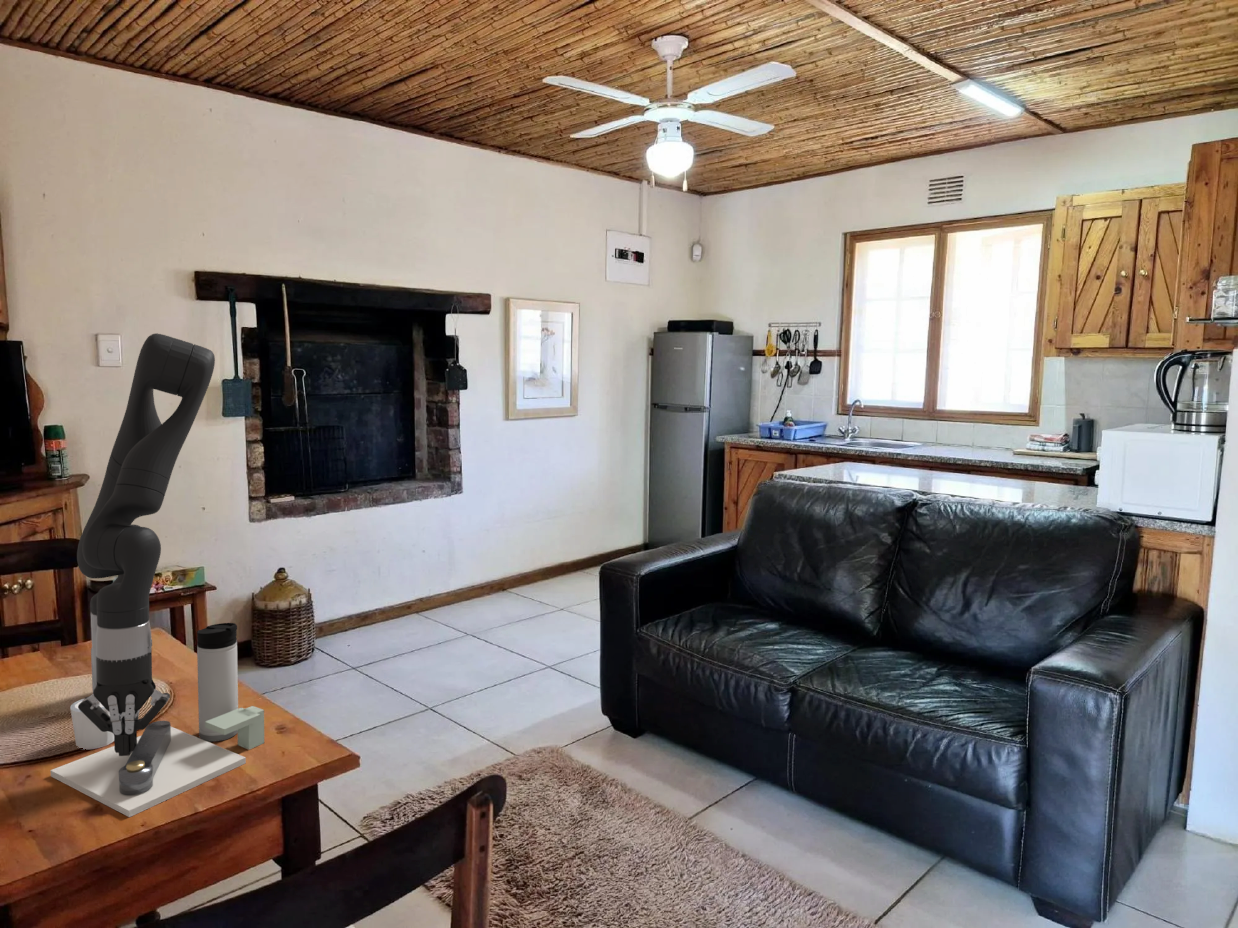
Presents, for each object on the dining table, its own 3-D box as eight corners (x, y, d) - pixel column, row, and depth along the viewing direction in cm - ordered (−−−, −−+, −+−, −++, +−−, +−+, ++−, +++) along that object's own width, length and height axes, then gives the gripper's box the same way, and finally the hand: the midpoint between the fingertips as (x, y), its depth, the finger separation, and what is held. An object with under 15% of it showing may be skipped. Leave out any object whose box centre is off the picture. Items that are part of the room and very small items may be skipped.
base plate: (50, 776, 127) (50, 770, 127) (168, 730, 143) (168, 725, 143) (129, 817, 117) (129, 810, 117) (245, 763, 133) (245, 757, 133)
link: (149, 792, 121) (148, 769, 121) (115, 796, 120) (114, 773, 119) (175, 735, 139) (175, 715, 138) (146, 738, 138) (146, 717, 137)
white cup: (113, 728, 143) (112, 691, 142) (124, 742, 138) (122, 703, 137) (67, 740, 138) (65, 701, 137) (76, 755, 134) (75, 714, 133)
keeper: (205, 755, 135) (205, 721, 134) (249, 736, 142) (248, 704, 142) (224, 763, 133) (224, 729, 132) (268, 744, 140) (267, 711, 139)
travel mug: (224, 744, 139) (222, 632, 137) (190, 739, 140) (188, 628, 138) (247, 728, 145) (246, 621, 143) (215, 723, 147) (213, 617, 144)
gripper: (66, 660, 122) (70, 768, 124) (164, 656, 126) (166, 761, 128) (84, 643, 129) (87, 745, 132) (176, 639, 133) (177, 739, 135)
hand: (126, 753), depth 130 cm, fingers closed
